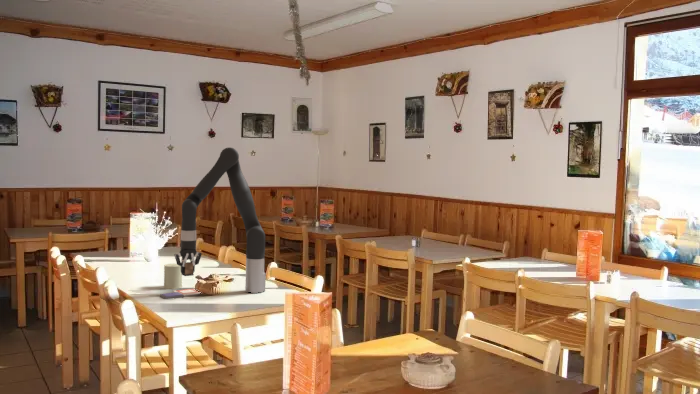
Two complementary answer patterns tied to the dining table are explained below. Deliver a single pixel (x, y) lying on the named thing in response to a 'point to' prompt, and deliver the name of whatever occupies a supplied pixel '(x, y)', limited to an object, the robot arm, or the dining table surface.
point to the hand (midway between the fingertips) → (187, 273)
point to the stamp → (188, 269)
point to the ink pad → (171, 295)
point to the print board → (187, 291)
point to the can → (172, 276)
